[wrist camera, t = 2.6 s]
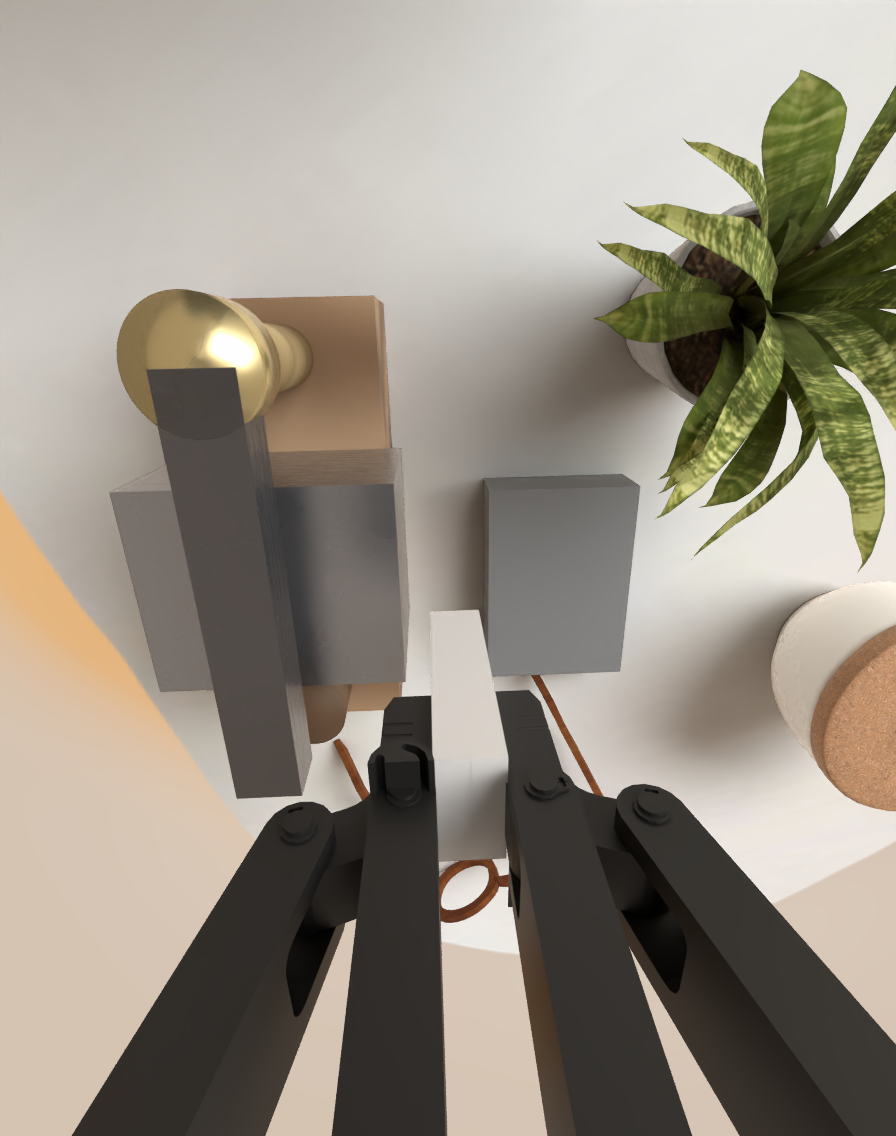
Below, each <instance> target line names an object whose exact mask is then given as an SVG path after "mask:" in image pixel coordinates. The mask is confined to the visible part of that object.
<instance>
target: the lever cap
mask: <svg viewBox="0 0 896 1136" xmlns="http://www.w3.org/2000/svg"><path fill="white" fill-rule="evenodd" d="M269 455H270V462H271V469H272V476H273V483H274V491H275V498H276V505H277V512H278V519H279V526H280V533H281V540H282V547H283V554H284V561H285V568H286V575H287V582H288V590H289V597H290V604H291V611H292V618H293V625H294V632H295V639H296V646H297V653H298V660H299V667H300V674H301V681H302V686H316V685H341V684H366V683H391V682H405V681H406V663H407V645H408V627H409V609H410V603H409V584H408V565H407V546H406V527H405V508H404V489H403V471H402V452H401V448H388V449H353V450H319V451H284V452H269ZM109 493H110V497H111V501H112V505H113V509H114V512H115V516H116V520H117V524H118V528H119V532H120V536H121V540H122V544H123V548H124V552H125V556H126V560H127V563H128V567H129V571H130V575H131V579H132V583H133V587H134V591H135V595H136V599H137V603H138V607H139V611H140V614H141V618H142V622H143V626H144V630H145V634H146V638H147V642H148V646H149V650H150V654H151V658H152V662H153V665H154V669H155V673H156V677H157V681H158V685H159V689H160V692H168V691H193V690H214V688H213V684H212V679H211V674H210V669H209V665H208V660H207V655H206V651H205V646H204V641H203V636H202V632H201V627H200V622H199V618H198V613H197V608H196V603H195V599H194V594H193V589H192V584H191V580H190V575H189V570H188V566H187V561H186V556H185V551H184V547H183V542H182V537H181V533H180V528H179V523H178V518H177V514H176V509H175V504H174V500H173V495H172V490H171V485H170V481H169V476H168V471H167V467H166V465H165V466H163V467H161V468H159V469H157V470H155V471H153V472H151V473H149V474H146V475H144V476H142V477H140V478H138V479H136V480H134V481H132V482H130V483H128V484H126V485H124V486H122V487H120V488H118V489H115V490H113V491H111V492H109Z"/></svg>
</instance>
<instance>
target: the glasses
mask: <svg viewBox="0 0 896 1136" xmlns="http://www.w3.org/2000/svg"><path fill="white" fill-rule="evenodd" d="M531 676H532V677H533V679H534V681H535V683H536V685H537V687H538V688H539V690H540V692H541V694H542V696H543V698H544V699H545V701H546V703H547V705H548V707H549V709H550V711H551V713H552V715H553V716H554V718H555V720H556V722H557V724H558V727H559V729H560V731H561V733H562V734H563V736H564V738H565V740H566V742H567V744H568V746H569V747H570V749H571V751H572V753H573V755H574V757H575V759H576V761H577V762H578V764H579V766H580V768H581V770H582V772H583V774H584V776H585V778H586V779H587V781H588V783H589V785H590V787H591V789H592V791H593V793H594V794H595V795H599V796H603V795H602V793H601V791H600V789H599V787H598V785H597V783H596V781H595V779H594V777H593V776H592V774H591V772H590V770H589V768H588V766H587V764H586V762H585V760H584V759H583V757H582V755H581V753H580V751H579V749H578V747H577V745H576V743H575V741H574V740H573V738H572V736H571V734H570V733H569V731H568V729H567V727H566V726H565V724H564V722H563V720H562V717H561V715H560V713H559V711H558V709H557V707H556V705H555V703H554V701H553V699H552V697H551V695H550V693H549V691H548V690H547V688H546V686H545V684H544V682H543V681H542V679H541V677H540V675H531ZM334 744H335V746H336V748H337V750H338V752H339V754H340V756H341V759H342V761H343V763H344V765H345V767H346V769H347V771H348V774H349V776H350V778H351V780H352V782H353V784H354V787H355V789H356V791H357V792H358V794H359V796H360V797H361V799H362V801H363V800H364V799H365V798H366V797H367V796H368V795H369V792H368V791H367V789H366V788H365V786H364V784H363V781H362V779H361V777H360V775H359V773H358V771H357V769H356V767H355V764H354V762H353V760H352V758H351V756H350V754H349V752H348V750H347V748H346V747H345V745H344V744H343V743H342V742H341V740H340V739H338V740H337V741H335V742H334ZM479 865H481V866H485V867H486V868H488V872H489V881H488V884H487V886H486V888H485V890H484V891H483V893H482V894H481V895H480V896H479V897H478V898H477V899H476V900H475V901H473V902H472V903H470V904H469V905H467V906H465V907H463V908H460V909H456V910H446V909H443V908H442V906H441V896H442V893H443V890H444V888H445V886H446V884H447V883H448V882H449V880H450V879H451V878H452V877H453V876H455V875H456V874H457V873H459V872H460V871H462V870H464V869H466V868H469V867H472V866H479ZM439 885H440V917H441V921H443V922H445V923H453V922H459V921H462V920H465V919H467V918H469V917H471V916H473V915H475V914H476V913H478V912H479V911H480V910H482V909H483V908H484V907H485V906H486V905H487V904H488V903H489V902H490V901H491V900H492V898H493V897H494V896H495V895H496V893H497V892H498V888H499V886H500V887H509V874H508V875H504V876H499V874H498V871H497V868H496V866H495V864H494V862H493V861H492V859H481V860H462V861H459V862H457V863H455V864H453V865H452V866H450V867H449V868H448V869H447V870H446V871H445V872H444V873H443V874H442V875H441V876H440V877H439Z"/></svg>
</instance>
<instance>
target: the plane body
mask: <svg viewBox="0 0 896 1136" xmlns="http://www.w3.org/2000/svg"><path fill="white" fill-rule="evenodd" d="M230 300H232V301H234V302H237V303H239V304H241V305H242V306H244V307H245V308H247V309H248V310H249V311H251V312H252V313H253V314H254V315H255V316H256V317H257V318H258V319H259V320H260V321H261V322H262V323H263V324H264V326H265V327H266V328H267V330H268V331H269V333H270V335H271V336H272V338H273V340H274V343H275V345H276V347H277V351H278V354H279V358H280V364H281V381H280V386H279V390H278V393H277V396H276V398H275V400H274V402H273V404H272V405H271V407H270V408H269V410H268V411H267V412H266V413H265V414H264V420H265V427H266V434H267V441H268V448H269V452H284V451H319V450H353V449H388V448H392V443H391V426H390V409H389V393H388V376H387V359H386V342H385V325H384V308H383V303H382V302H381V301H379V300H378V299H377V298H376V297H375V296H334V297H288V298H241V299H230ZM302 689H303V696H304V703H305V710H306V717H307V724H308V731H309V738H310V744H317V743H323V742H326V741H329V740H331V739H333V738H334V737H335V736H337V735H338V734H339V733H340V731H341V730H342V728H343V726H344V723H345V718H346V713H347V711H371V710H385V708H386V707H387V706H388V704H389V703H390V702H391V700H392V699H393V697H401V695H402V682H391V683H366V684H341V685H316V686H302Z"/></svg>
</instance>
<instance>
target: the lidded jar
mask: <svg viewBox="0 0 896 1136" xmlns="http://www.w3.org/2000/svg"><path fill="white" fill-rule="evenodd" d="M771 683H772V688H773V692H774V696H775V700H776V703H777V705H778V708H779V710H780V712H781V714H782V716H783V718H784V720H785V722H786V724H787V725H788V727H789V728H790V730H791V731H792V733H793V734H794V736H795V737H796V738H797V740H798V741H799V743H800V744H801V745H802V747H803V748H804V749H805V750H806V751H807V753H808V754H809V755H810V756H811V757H812V759H813V760H814V761H815V762H816V763H817V765H818V766H819V768H820V769H821V770H822V772H823V773H824V774H825V776H826V777H827V778H828V780H829V781H830V782H831V783H832V784H833V785H834V786H835V787H836V788H837V789H838V790H839V791H840V792H842V793H843V794H844V795H845V796H847V797H848V798H850V799H852V800H854V801H855V802H857V803H860V804H863V805H866V806H868V807H872V808H876V809H881V810H886V811H896V582H894V581H874V582H864V583H858V584H854V585H849V586H845V587H842V588H839V589H836V590H833V591H831V592H829V593H825V594H822V595H819V596H817V597H815V598H813V599H811V600H809V601H808V602H806V603H805V604H803V605H802V606H800V607H799V608H798V609H797V610H796V611H795V612H794V613H793V614H792V615H791V616H790V617H789V618H788V619H787V621H786V622H785V624H784V625H783V627H782V629H781V631H780V633H779V636H778V639H777V644H776V647H775V650H774V653H773V658H772V663H771Z"/></svg>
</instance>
